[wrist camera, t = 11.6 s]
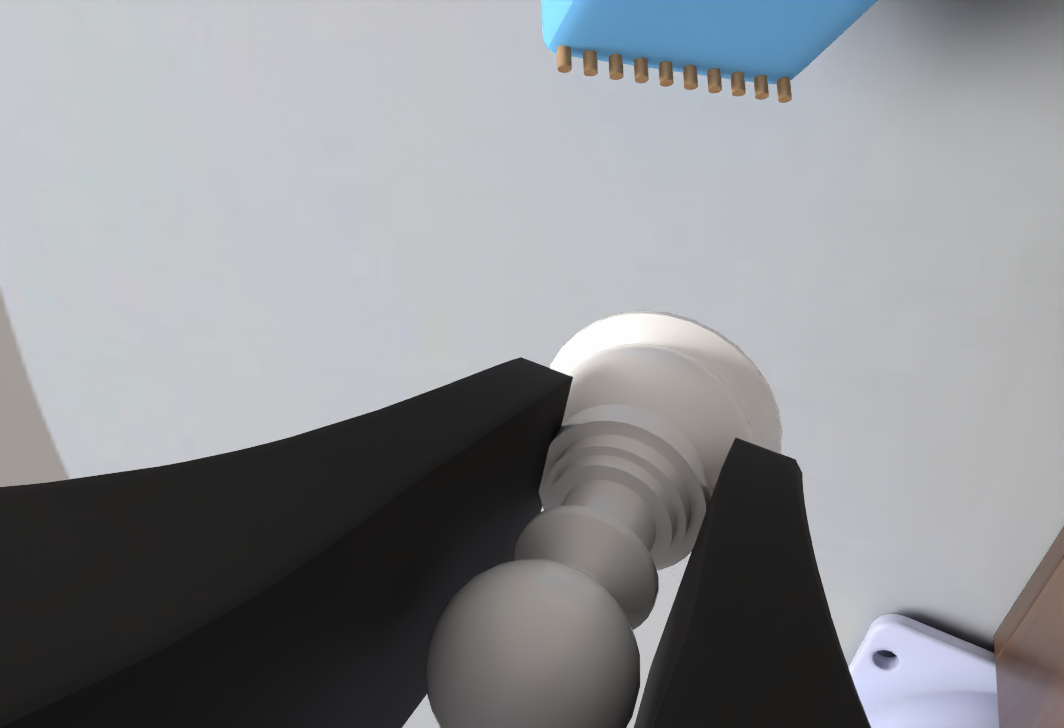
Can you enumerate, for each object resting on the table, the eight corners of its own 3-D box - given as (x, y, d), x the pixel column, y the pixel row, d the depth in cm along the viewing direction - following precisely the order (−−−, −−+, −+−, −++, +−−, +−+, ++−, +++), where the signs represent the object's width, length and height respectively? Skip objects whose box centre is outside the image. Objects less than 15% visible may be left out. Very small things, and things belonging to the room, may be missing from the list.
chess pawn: (713, 266, 10) (535, 526, 6) (828, 486, 10) (741, 873, 6) (508, 355, 11) (247, 613, 7) (617, 544, 12) (434, 886, 8)
